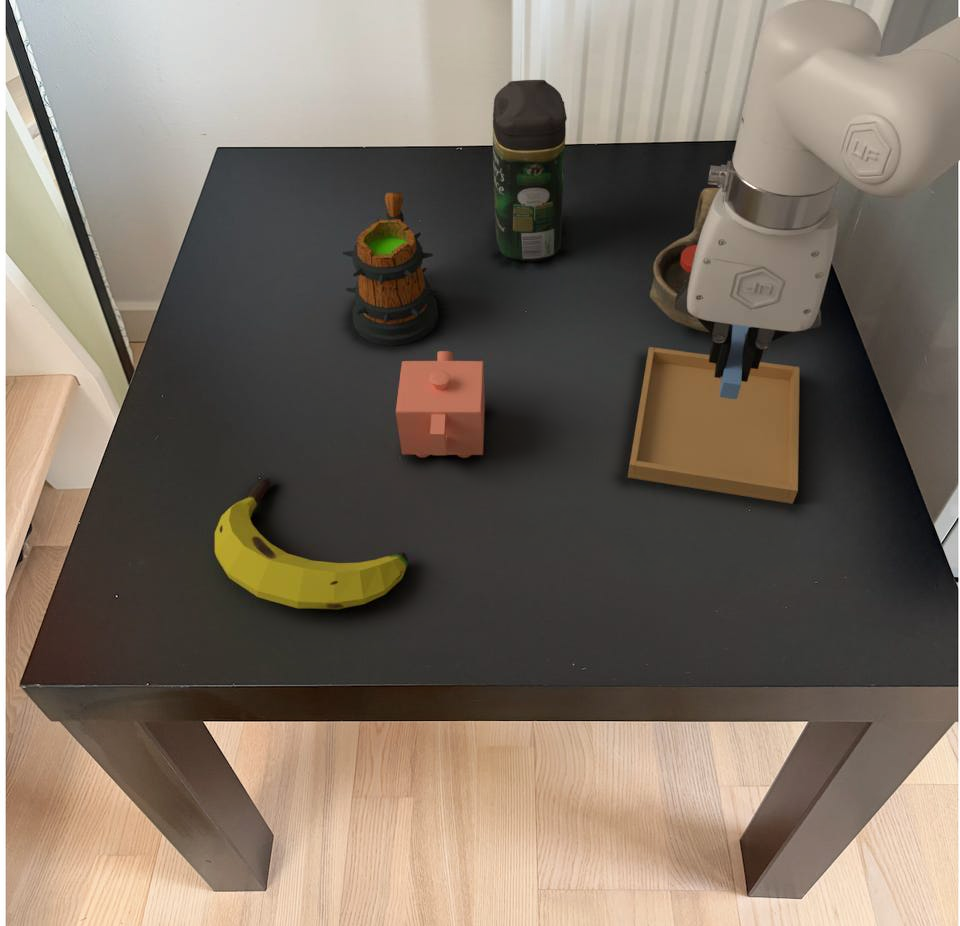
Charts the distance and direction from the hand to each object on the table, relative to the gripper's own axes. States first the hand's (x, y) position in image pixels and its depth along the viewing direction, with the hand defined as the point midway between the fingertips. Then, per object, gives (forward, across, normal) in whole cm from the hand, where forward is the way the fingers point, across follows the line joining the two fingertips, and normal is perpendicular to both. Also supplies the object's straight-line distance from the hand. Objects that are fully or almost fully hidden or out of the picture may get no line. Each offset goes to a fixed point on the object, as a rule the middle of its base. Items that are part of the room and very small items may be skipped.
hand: (731, 367), depth 80 cm
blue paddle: (+1, 0, +2) cm, 3 cm away
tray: (+11, 0, +2) cm, 11 cm away
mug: (+11, -36, +13) cm, 40 cm away
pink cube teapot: (+11, -26, -4) cm, 28 cm away
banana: (+11, -34, -20) cm, 41 cm away
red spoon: (+4, 0, +19) cm, 20 cm away
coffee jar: (+11, -24, +28) cm, 39 cm away
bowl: (+11, -2, +21) cm, 24 cm away
